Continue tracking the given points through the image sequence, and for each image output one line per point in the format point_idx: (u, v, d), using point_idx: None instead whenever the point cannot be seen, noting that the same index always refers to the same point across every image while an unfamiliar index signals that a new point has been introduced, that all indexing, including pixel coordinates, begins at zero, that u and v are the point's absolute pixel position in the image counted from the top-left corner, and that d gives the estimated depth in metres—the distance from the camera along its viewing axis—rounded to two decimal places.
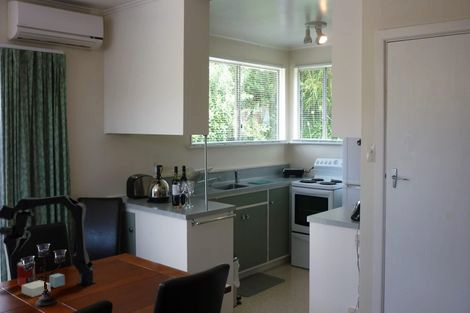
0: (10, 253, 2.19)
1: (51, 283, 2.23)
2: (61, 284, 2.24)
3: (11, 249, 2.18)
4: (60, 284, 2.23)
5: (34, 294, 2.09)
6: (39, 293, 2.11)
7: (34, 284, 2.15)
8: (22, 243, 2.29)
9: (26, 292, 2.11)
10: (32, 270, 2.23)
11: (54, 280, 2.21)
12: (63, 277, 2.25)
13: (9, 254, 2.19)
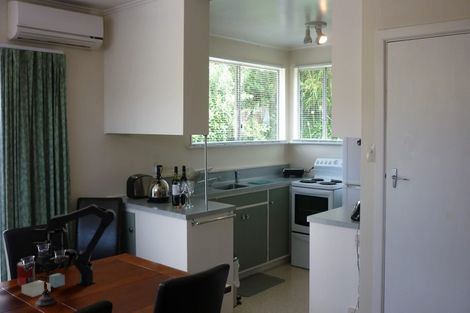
0: (47, 272, 2.20)
1: (51, 283, 2.23)
2: (61, 284, 2.24)
3: (46, 268, 2.19)
4: (60, 284, 2.23)
5: (34, 294, 2.09)
6: (39, 293, 2.11)
7: (34, 284, 2.15)
8: (67, 262, 2.27)
9: (26, 292, 2.11)
10: (32, 270, 2.23)
11: (54, 280, 2.21)
12: (63, 277, 2.25)
13: (47, 274, 2.20)
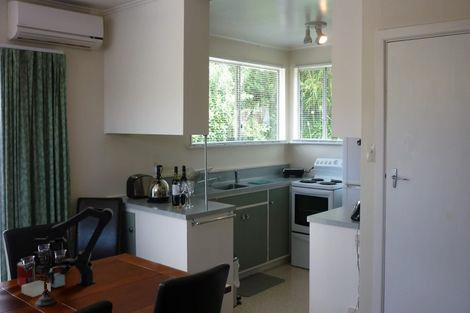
0: (51, 281, 2.22)
1: None
2: (61, 284, 2.24)
3: (50, 277, 2.21)
4: (60, 284, 2.23)
5: (35, 294, 2.09)
6: (39, 293, 2.11)
7: (34, 284, 2.15)
8: (63, 273, 2.26)
9: (26, 292, 2.11)
10: (32, 270, 2.23)
11: (54, 280, 2.21)
12: (63, 277, 2.25)
13: (51, 282, 2.22)
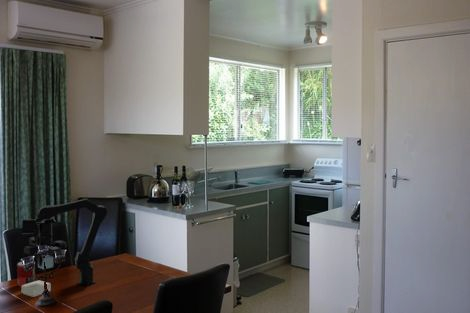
0: (39, 263, 2.16)
1: None
2: (49, 266, 2.18)
3: (38, 258, 2.16)
4: (48, 266, 2.18)
5: (35, 294, 2.09)
6: (40, 293, 2.11)
7: (34, 284, 2.15)
8: (52, 255, 2.20)
9: (26, 292, 2.11)
10: (32, 270, 2.23)
11: (42, 261, 2.16)
12: (52, 259, 2.19)
13: (39, 264, 2.17)
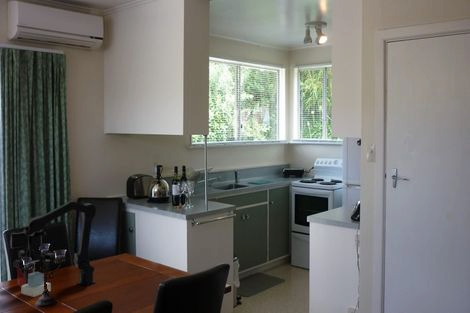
0: (25, 277, 2.10)
1: (29, 282, 2.13)
2: (40, 283, 2.14)
3: (24, 273, 2.09)
4: (39, 283, 2.13)
5: (35, 294, 2.09)
6: (40, 293, 2.12)
7: None
8: (47, 267, 2.17)
9: (26, 292, 2.11)
10: (32, 270, 2.23)
11: (32, 279, 2.11)
12: (42, 276, 2.14)
13: (25, 279, 2.10)
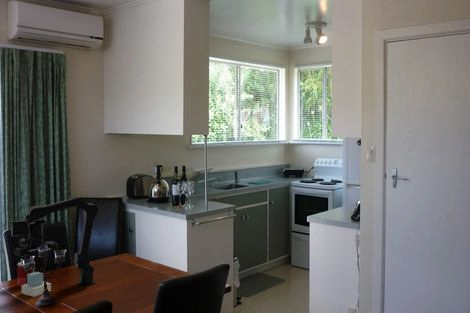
0: None
1: (29, 282, 2.13)
2: (39, 283, 2.14)
3: None
4: (38, 283, 2.13)
5: (35, 294, 2.09)
6: (40, 293, 2.12)
7: None
8: (47, 255, 2.18)
9: (27, 292, 2.11)
10: (32, 270, 2.23)
11: (32, 279, 2.11)
12: (42, 276, 2.15)
13: None
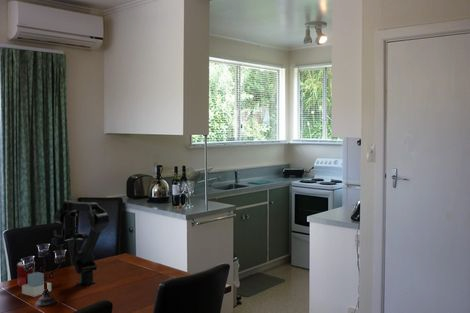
0: None
1: (29, 282, 2.13)
2: (40, 283, 2.14)
3: None
4: (39, 283, 2.13)
5: (36, 294, 2.09)
6: (40, 293, 2.12)
7: None
8: (79, 245, 2.38)
9: (27, 292, 2.11)
10: (32, 270, 2.23)
11: (32, 279, 2.11)
12: (42, 276, 2.15)
13: None
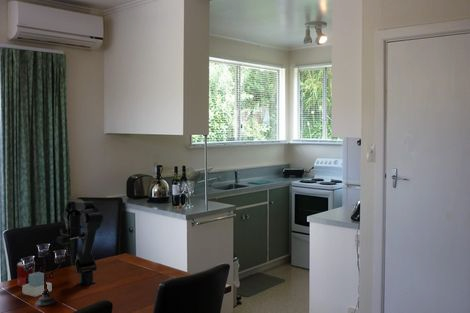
0: (67, 252, 2.33)
1: (30, 282, 2.13)
2: (41, 283, 2.14)
3: (66, 248, 2.33)
4: (40, 283, 2.13)
5: (36, 294, 2.10)
6: (41, 293, 2.12)
7: None
8: None
9: (27, 292, 2.11)
10: (32, 270, 2.23)
11: (33, 279, 2.11)
12: (43, 276, 2.14)
13: (67, 253, 2.34)
